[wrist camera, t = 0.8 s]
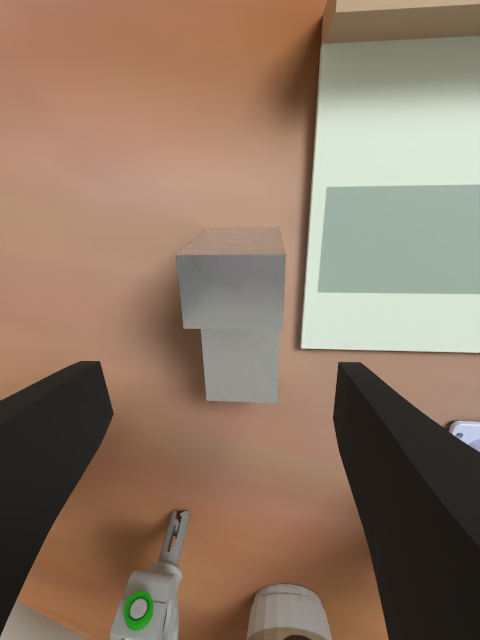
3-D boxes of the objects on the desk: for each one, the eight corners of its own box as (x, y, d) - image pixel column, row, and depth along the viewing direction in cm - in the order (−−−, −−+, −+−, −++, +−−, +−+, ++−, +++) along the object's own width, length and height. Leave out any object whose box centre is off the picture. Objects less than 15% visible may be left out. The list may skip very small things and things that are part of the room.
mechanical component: (167, 547, 31) (124, 704, 22) (161, 471, 26) (104, 626, 17) (197, 550, 30) (168, 710, 21) (196, 475, 26) (158, 633, 17)
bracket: (275, 364, 21) (278, 444, 15) (217, 363, 22) (195, 440, 15) (279, 226, 18) (285, 254, 11) (208, 227, 18) (175, 255, 12)
